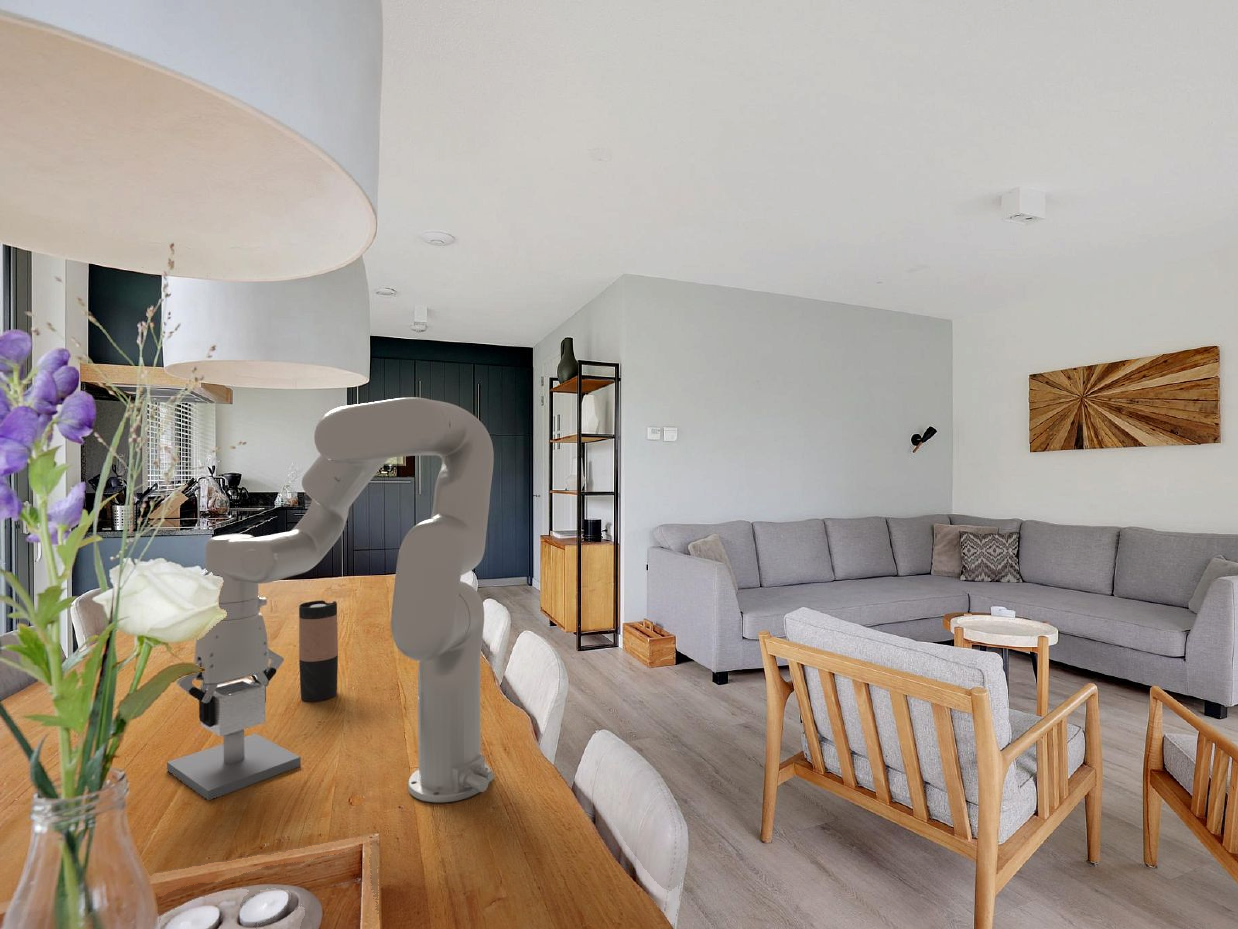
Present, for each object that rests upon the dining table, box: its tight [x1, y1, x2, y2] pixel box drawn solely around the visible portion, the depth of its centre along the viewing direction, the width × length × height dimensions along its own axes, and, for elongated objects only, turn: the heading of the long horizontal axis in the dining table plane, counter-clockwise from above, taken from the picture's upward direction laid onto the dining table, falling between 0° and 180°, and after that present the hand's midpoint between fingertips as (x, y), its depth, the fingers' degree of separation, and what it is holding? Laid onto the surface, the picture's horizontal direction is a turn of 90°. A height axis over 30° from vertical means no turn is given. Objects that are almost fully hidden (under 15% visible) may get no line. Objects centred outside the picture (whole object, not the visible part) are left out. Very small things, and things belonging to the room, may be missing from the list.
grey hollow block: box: [200, 677, 266, 737], centre depth 111 cm, size 12×7×6 cm, turn 53°
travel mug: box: [298, 600, 339, 703], centre depth 143 cm, size 8×8×20 cm
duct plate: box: [166, 729, 302, 802], centre depth 109 cm, size 16×14×6 cm
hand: (233, 716), depth 109 cm, fingers closed on grey hollow block, 7 cm apart
